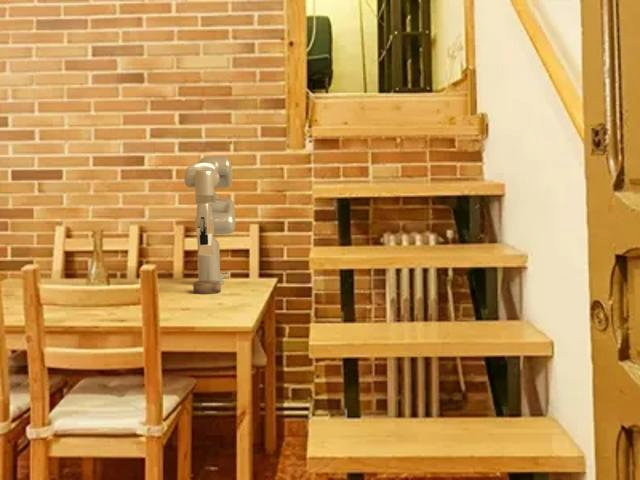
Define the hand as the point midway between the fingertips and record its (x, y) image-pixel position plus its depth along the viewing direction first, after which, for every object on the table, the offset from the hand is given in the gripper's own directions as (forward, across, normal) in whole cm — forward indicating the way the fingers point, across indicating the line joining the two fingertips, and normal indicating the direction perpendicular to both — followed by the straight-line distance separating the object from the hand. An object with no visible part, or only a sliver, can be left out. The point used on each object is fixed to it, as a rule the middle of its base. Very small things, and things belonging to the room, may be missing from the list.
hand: (205, 243), depth 291 cm
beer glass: (+5, 0, 0) cm, 5 cm away
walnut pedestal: (+20, 0, 0) cm, 20 cm away
